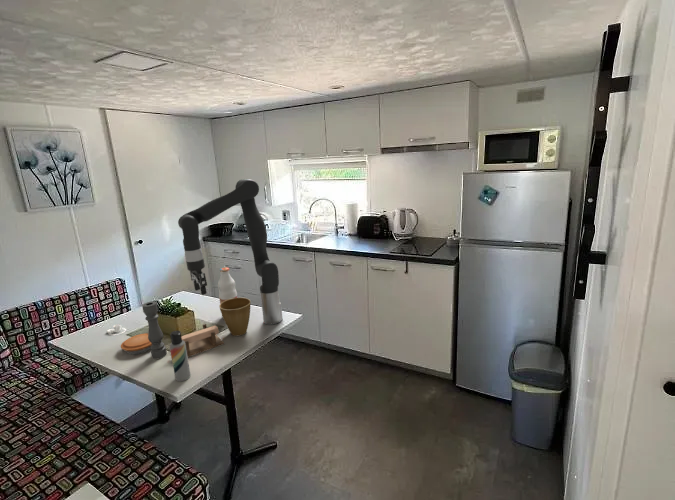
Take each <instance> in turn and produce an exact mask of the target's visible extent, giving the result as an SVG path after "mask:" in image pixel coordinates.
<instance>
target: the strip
mask: <svg viewBox="0 0 675 500" xmlns="http://www.w3.org/2000/svg"><path fill="white" fill-rule="evenodd" d="M212 332H215V335H219V334H220V333H219V327H218V326H217V325H212V326H209V327H207V328H206V329H203V328H202V329H200V330H196V331H193V332H191V333H190V332H189V333H187V334H184V335H181V337H182V340H183V341H188V342H189V343H192V342H195V341H198V340H201V339H204V338H207V337H210V336H211V333H212Z"/></svg>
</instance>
